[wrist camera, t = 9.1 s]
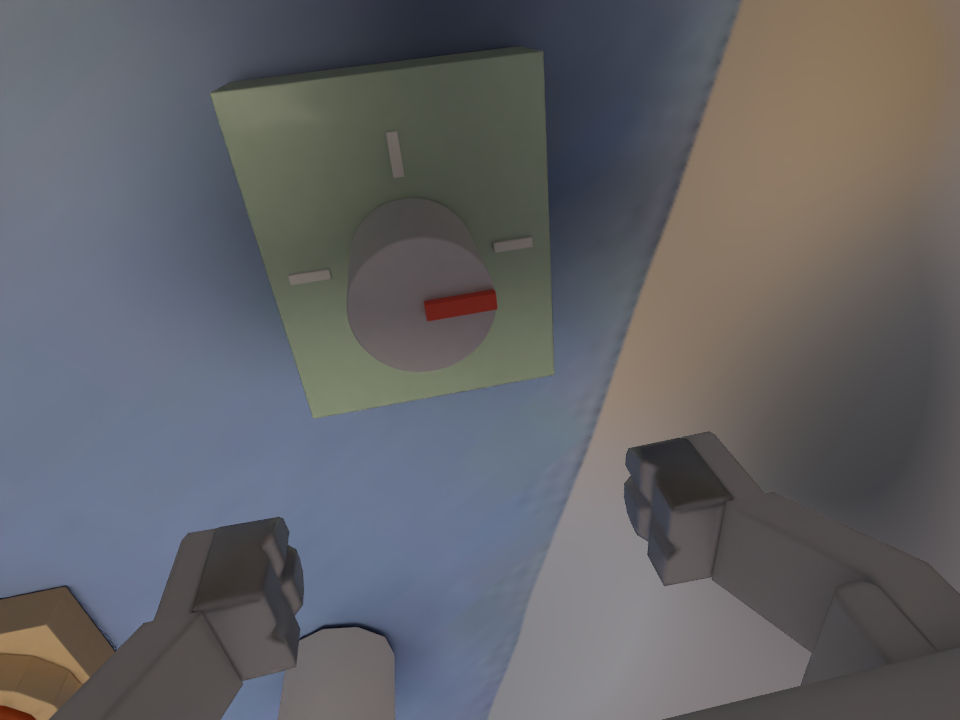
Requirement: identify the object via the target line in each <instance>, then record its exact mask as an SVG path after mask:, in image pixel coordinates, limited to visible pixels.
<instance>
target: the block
mask: <svg viewBox="0 0 960 720" xmlns="http://www.w3.org/2000/svg"><path fill="white" fill-rule="evenodd" d="M114 653H115V651H114V650H113V648H112V647H111V646H110V644H109V643H108V642H107V640H106V639H105V638H104V636H103V635H102V634H101V632H100V631H99V630H98V628H97V627H96V626H95V624H94V623H93V622H92V620H91V619H90V618H89V617H88V615H87V614H86V613H85V611H84V610H83V609H82V607H81V606H80V605H79V603H78V602H77V601H76V599H75V598H74V597H73V595H72V594H71V593H70V591H69V590H68V589H67V587H61V588H56V589H51V590H46V591H41V592H36V593H31V594H26V595H21V596H16V597H11V598H6V599H1V600H0V705H1V706H8V707H11V708H14V709H17V710H20V711H22V712H25V713H28V714H31V715H32V716H33V717H34V718H35V719H36V720H49V719H50V718H51V717H52V716H53V715H54V714H55V712H56V711H57V710H58V709H59V708H60V707H61V706H62V705H63V704H64V703H65V702H66V701H67V700H68V699H69V698H70V697H71V696H72V695H73V694H74V693H75V692H76V691H77V690H78V689H79V688H80V687H81V686H82V685H83V684H84V683H85V682H86V681H87V680H88V679H89V678H90V677H91V676H92V675H93V674H94V673H95V672H96V671H97V670H98V669H99V668H100V667H101V666H102V665H103V664H104V663H105V662H106V661H107V660H108V659H109V658H110V657H111V656H112V655H113V654H114Z"/></svg>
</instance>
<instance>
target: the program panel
mask: <svg viewBox="0 0 960 720" xmlns="http://www.w3.org/2000/svg"><path fill="white" fill-rule="evenodd" d="M210 96H211V99H212V102H213V106H214V109H215V112H216V115H217V118H218V121H219V124H220V128H221V131H222V134H223V137H224V140H225V143H226V146H227V150H228V153H229V156H230V159H231V162H232V165H233V168H234V171H235V175H236V178H237V181H238V184H239V187H240V190H241V193H242V197H243V200H244V203H245V206H246V209H247V212H248V215H249V219H250V222H251V225H252V228H253V231H254V234H255V237H256V241H257V244H258V247H259V250H260V253H261V256H262V259H263V263H264V266H265V269H266V272H267V275H268V278H269V281H270V285H271V288H272V291H273V294H274V297H275V300H276V303H277V306H278V310H279V313H280V316H281V319H282V322H283V325H284V328H285V332H286V335H287V338H288V341H289V344H290V347H291V350H292V354H293V357H294V360H295V363H296V366H297V369H298V372H299V376H300V379H301V382H302V385H303V388H304V391H305V394H306V398H307V401H308V404H309V407H310V410H311V413H312V416H313V418H320V417H325V416H331V415H336V414H342V413H347V412H353V411H358V410H364V409H369V408H375V407H380V406H386V405H391V404H397V403H402V402H408V401H413V400H419V399H424V398H430V397H435V396H441V395H446V394H452V393H457V392H463V391H468V390H474V389H479V388H485V387H490V386H496V385H501V384H507V383H512V382H518V381H523V380H529V379H534V378H540V377H545V376H551V375H554V346H553V317H552V288H551V259H550V230H549V201H548V172H547V143H546V114H545V85H544V56H543V51H541V50H536V49H531V48H527V47H522V46H516V47H508V48H500V49H492V50H484V51H476V52H468V53H460V54H452V55H444V56H436V57H428V58H420V59H412V60H404V61H396V62H388V63H380V64H371V65H363V66H355V67H347V68H339V69H331V70H323V71H315V72H307V73H299V74H291V75H283V76H275V77H267V78H259V79H251V80H243V81H235V82H230V83H228V84H226V85H224V86H222V87H220V88H218V89H216V90H214V91H213V92H211V93H210ZM404 198H421V199H427V200H430V201H434V202H437V203H439V204H441V205H443V206H445V207H447V208H448V209H450V210H451V211H452V212H454V213H455V214H456V215H457V216H458V217H459V218H460V219H461V220H462V221H463V223H464V224H465V226H466V227H467V229H468V231H469V233H470V235H471V237H472V239H473V241H474V243H475V245H476V247H477V249H478V251H479V253H480V255H481V257H482V260H483V262H484V264H485V266H486V268H487V270H488V272H489V274H490V276H491V278H492V281H493V284H494V287H495V292H496V297H497V307H498V308H497V310H496V312H495V316H494V320H493V323H492V326H491V328H490V330H489V332H488V334H487V336H486V337H485V339H484V340H483V341H482V343H481V344H480V345H479V346H478V347H477V348H476V350H475V351H473V352H472V353H471V354H470V355H469V356H467V357H466V358H464V359H463V360H461V361H460V362H458V363H456V364H454V365H452V366H449V367H446V368H443V369H439V370H435V371H428V372H410V371H404V370H399V369H396V368H393V367H390V366H388V365H386V364H383V363H381V362H380V361H378V360H377V359H375V358H374V357H372V356H371V355H370V354H369V353H368V352H366V351H365V349H364V348H363V347H362V346H361V345H360V344H359V342H358V341H357V339H356V338H355V336H354V334H353V332H352V330H351V327H350V324H349V321H348V316H347V287H348V268H349V253H350V246H351V242H352V239H353V236H354V234H355V232H356V230H357V228H358V227H359V225H360V224H361V223H362V221H363V220H364V219H365V218H366V217H367V216H368V215H369V214H370V213H371V212H373V211H374V210H375V209H377V208H378V207H380V206H382V205H384V204H386V203H389V202H391V201H394V200H399V199H404Z"/></svg>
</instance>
